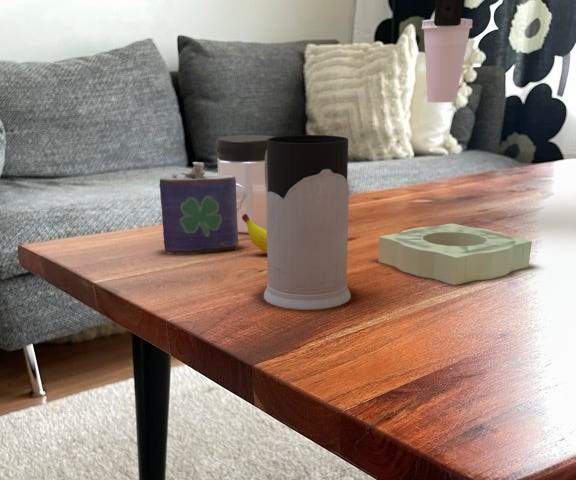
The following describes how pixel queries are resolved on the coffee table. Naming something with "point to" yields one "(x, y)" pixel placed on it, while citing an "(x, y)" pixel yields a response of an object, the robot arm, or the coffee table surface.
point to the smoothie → (444, 58)
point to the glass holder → (307, 221)
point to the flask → (199, 212)
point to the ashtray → (454, 253)
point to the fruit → (256, 234)
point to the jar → (246, 175)
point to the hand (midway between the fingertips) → (447, 25)
